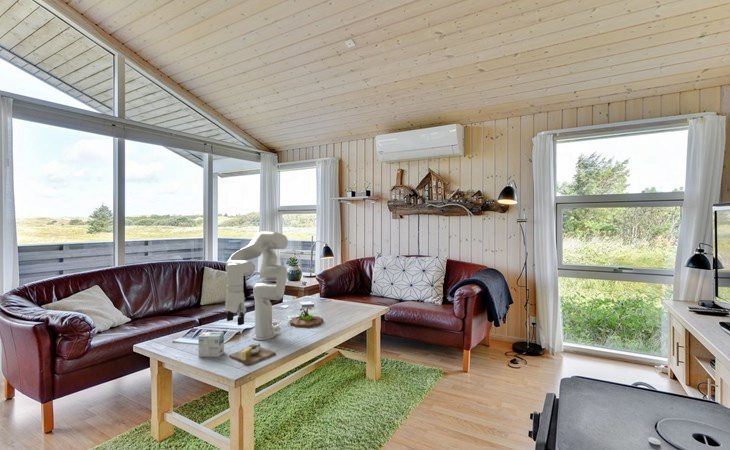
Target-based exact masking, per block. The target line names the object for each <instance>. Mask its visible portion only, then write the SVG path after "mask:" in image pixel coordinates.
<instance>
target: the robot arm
mask: <svg viewBox="0 0 730 450" xmlns="http://www.w3.org/2000/svg"><path fill="white" fill-rule="evenodd" d="M288 243H289V239H288V237H287V236H286V235H285V234H283V233H280V232H277V231H258V232H257V233H255V235H253V237H252V239H251V240H250V242H249V243H248V245H246V246H245V247H242V248H241V249H239V250H236V252H234V253H232V254H231V256H230V257H229V259H228V260H227V262H226V263H225V272H226V294H225V302H224V307H225V313H226V321H227V322H230V321H233V320H234V314H236V315H237V316H238V317H237V326H243V325H244V324H245V316H246V313H247V308H246V307H245V296H244V295H245V293H244V277H245V276H251V275H252V274H253V273H254V272H255V271H256V264H255V263H254V261H253V259H256V258H259V257H260V256H261V255H262V259H261V260H262V261H261V266H260V270H259V279H260V280H261V282H258V283H255V284H254V286H253V288H252V289H253V290H252V291H253V292H252V294H253V298H254V333H253V334H252V335H251V337H252V339H253V340H257V341H267V340H270V339H273V338H274V337H275V336H276V335H275V331H277V330H279V326H273V304H272V302H271V301H272V300H273V301H279V300H282V299H283V297H284V296H285V290H286V284H287V279H288V270H287V267H286V266H285V265H280V264H277V263H278V255H277V254H276V252H275V251H274V250H285V249H286V248H287V247H288V245H289V244H288ZM263 281H264V282H263Z"/></svg>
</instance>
